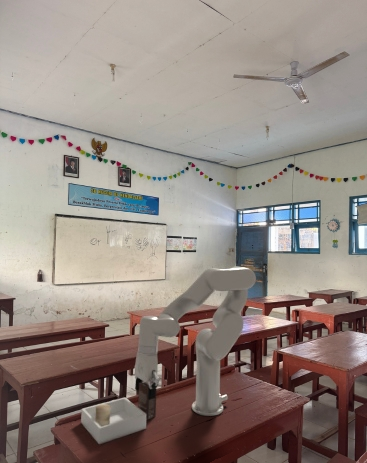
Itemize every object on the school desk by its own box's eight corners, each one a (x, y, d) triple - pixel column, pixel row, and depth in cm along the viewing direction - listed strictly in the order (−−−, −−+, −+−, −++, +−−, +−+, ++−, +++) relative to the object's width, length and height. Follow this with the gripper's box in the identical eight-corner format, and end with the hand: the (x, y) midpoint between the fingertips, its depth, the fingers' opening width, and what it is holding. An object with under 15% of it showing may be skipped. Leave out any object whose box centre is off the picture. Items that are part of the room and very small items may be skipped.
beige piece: (93, 426, 122) (93, 406, 122) (106, 422, 124) (107, 403, 125) (97, 432, 117) (98, 412, 118) (111, 429, 120) (112, 408, 120)
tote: (124, 410, 135) (125, 397, 136) (146, 428, 122) (146, 414, 122) (81, 422, 125) (81, 408, 125) (99, 444, 112) (99, 428, 112)
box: (156, 416, 131) (157, 384, 132) (147, 420, 128) (148, 387, 129) (146, 410, 136) (146, 379, 136) (137, 414, 132) (138, 382, 133)
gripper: (128, 344, 138) (126, 387, 137) (151, 356, 124) (148, 404, 123) (145, 342, 142) (142, 384, 141) (168, 353, 128) (165, 400, 127)
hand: (145, 393), depth 132 cm, fingers open, 9 cm apart
